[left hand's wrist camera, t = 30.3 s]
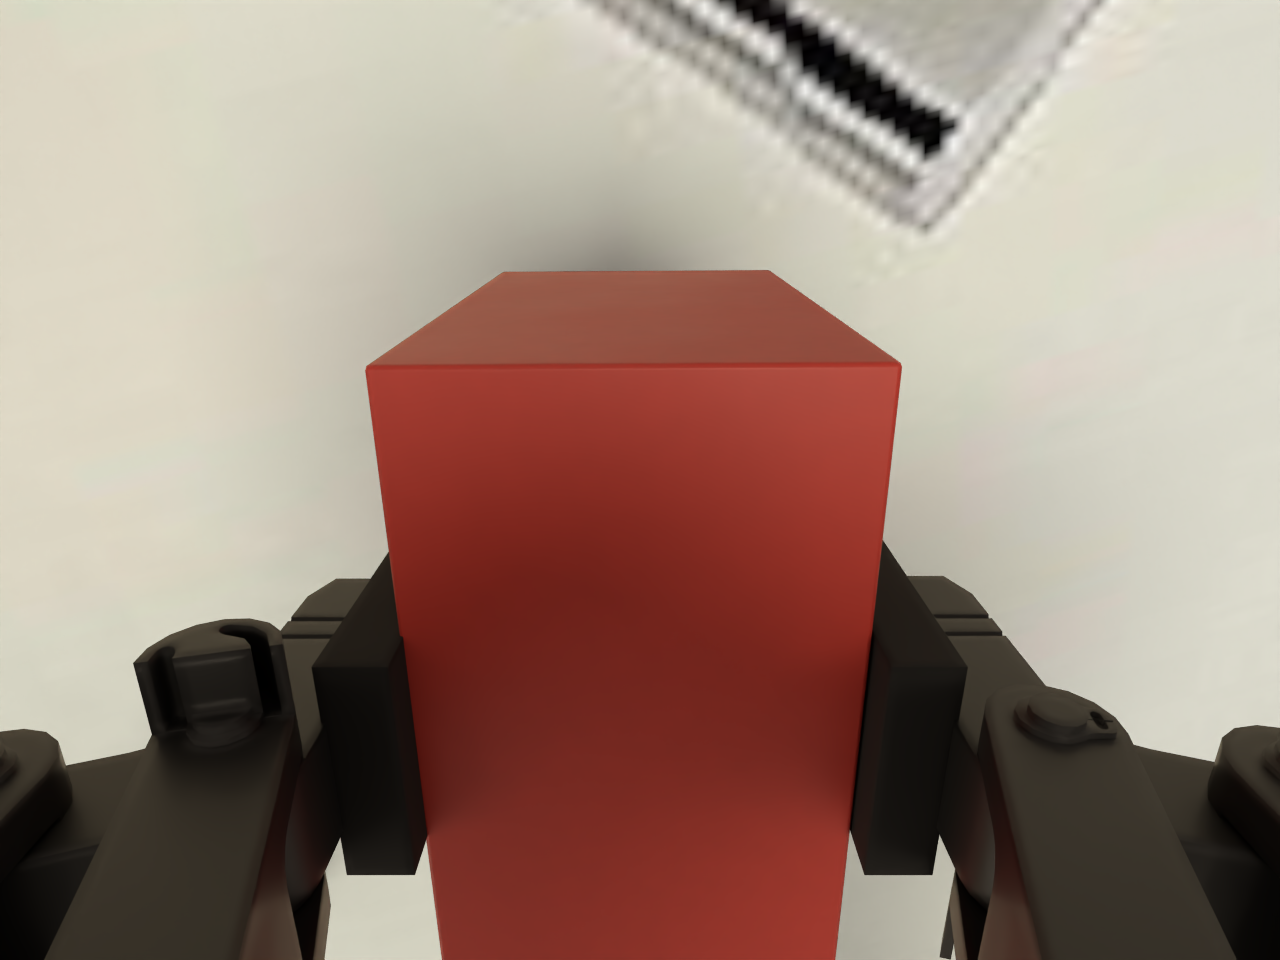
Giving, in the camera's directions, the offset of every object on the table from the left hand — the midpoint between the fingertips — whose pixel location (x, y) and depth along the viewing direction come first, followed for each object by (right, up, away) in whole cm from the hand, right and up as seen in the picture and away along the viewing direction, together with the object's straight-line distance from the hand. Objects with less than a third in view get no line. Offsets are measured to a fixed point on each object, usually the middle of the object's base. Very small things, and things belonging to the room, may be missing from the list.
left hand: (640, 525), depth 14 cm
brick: (0, +1, +2) cm, 2 cm away
